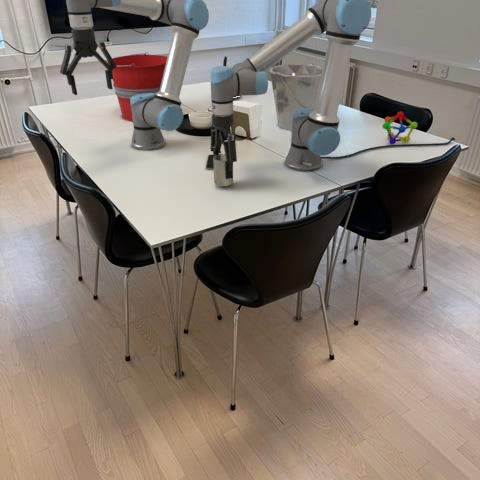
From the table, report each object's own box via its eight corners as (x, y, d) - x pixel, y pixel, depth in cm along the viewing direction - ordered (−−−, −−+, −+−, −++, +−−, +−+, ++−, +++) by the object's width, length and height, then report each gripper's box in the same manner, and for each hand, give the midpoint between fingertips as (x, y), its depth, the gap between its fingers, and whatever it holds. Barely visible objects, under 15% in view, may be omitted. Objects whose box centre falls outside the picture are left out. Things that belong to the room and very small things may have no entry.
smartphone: (205, 167, 182) (208, 154, 195) (205, 169, 182) (208, 155, 195) (223, 168, 182) (225, 154, 194) (223, 169, 182) (225, 156, 195)
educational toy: (377, 146, 209) (379, 114, 202) (384, 138, 219) (386, 107, 211) (411, 149, 202) (415, 116, 195) (417, 141, 212) (420, 109, 204)
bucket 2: (296, 138, 215) (301, 78, 201) (255, 124, 234) (256, 68, 219) (335, 125, 232) (342, 70, 217) (294, 113, 251) (297, 61, 236)
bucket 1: (121, 106, 263) (114, 51, 247) (180, 106, 262) (176, 52, 246) (104, 123, 233) (95, 63, 217) (170, 124, 232) (166, 64, 216)
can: (223, 187, 164) (223, 162, 159) (210, 182, 168) (209, 157, 163) (237, 181, 169) (237, 157, 163) (223, 176, 173) (223, 152, 167)
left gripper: (49, 32, 143) (63, 98, 154) (120, 26, 156) (128, 88, 168) (41, 29, 148) (55, 94, 159) (111, 24, 161) (119, 84, 173)
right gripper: (199, 108, 160) (201, 167, 172) (228, 123, 146) (229, 186, 158) (216, 105, 164) (218, 163, 176) (247, 119, 149) (246, 181, 161)
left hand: (92, 91), depth 163 cm, fingers open, 13 cm apart
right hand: (223, 174), depth 167 cm, fingers closed on can, 7 cm apart
